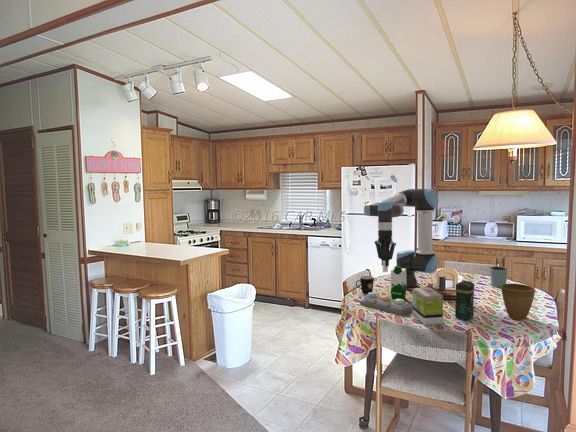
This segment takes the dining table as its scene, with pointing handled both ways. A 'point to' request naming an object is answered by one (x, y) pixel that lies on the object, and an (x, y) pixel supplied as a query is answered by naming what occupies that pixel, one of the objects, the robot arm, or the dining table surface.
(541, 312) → the dining table surface
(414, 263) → the robot arm
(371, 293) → the slate button
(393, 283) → the milk carton
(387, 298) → the terracotta button
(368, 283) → the coffee mug
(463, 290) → the coffee jar
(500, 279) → the blue-grey cylindrical pot
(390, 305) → the button board
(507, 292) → the plant pot
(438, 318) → the tea box
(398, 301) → the sage button
